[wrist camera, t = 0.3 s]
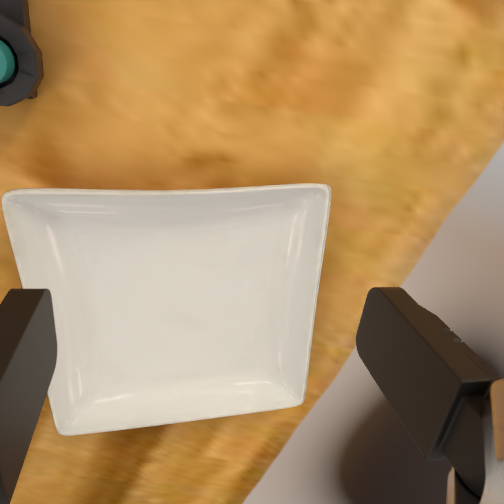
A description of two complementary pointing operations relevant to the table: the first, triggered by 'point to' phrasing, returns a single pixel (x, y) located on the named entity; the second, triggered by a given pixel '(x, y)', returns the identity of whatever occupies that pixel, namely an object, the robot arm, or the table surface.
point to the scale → (19, 53)
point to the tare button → (6, 62)
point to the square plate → (173, 298)
